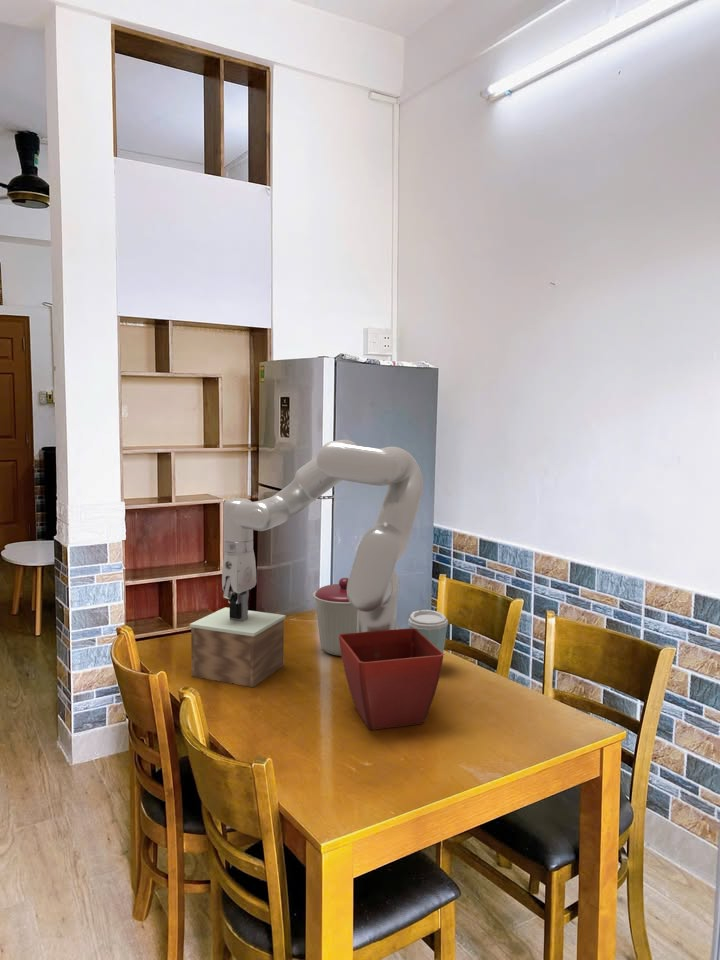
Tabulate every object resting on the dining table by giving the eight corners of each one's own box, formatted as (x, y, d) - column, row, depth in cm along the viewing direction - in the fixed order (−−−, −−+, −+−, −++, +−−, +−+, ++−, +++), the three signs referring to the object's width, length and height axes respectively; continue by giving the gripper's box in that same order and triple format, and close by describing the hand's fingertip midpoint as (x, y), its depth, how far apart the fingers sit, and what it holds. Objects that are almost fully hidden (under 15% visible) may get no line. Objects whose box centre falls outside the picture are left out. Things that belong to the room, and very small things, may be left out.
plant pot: (358, 739, 152) (359, 661, 150) (336, 703, 170) (337, 633, 168) (443, 729, 157) (445, 654, 155) (413, 695, 175) (415, 627, 173)
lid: (285, 618, 192) (285, 589, 191) (253, 636, 177) (253, 605, 176) (225, 610, 199) (225, 582, 198) (189, 627, 183) (189, 597, 183)
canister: (379, 642, 214) (380, 572, 211) (371, 663, 196) (372, 587, 194) (319, 638, 216) (320, 569, 214) (306, 659, 198) (306, 584, 196)
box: (283, 665, 193) (283, 618, 192) (253, 687, 178) (253, 636, 177) (225, 656, 200) (225, 610, 198) (191, 676, 185) (191, 626, 184)
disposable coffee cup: (455, 673, 189) (456, 617, 188) (419, 679, 185) (420, 622, 183) (433, 660, 199) (435, 607, 197) (399, 666, 194) (400, 611, 193)
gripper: (234, 553, 177) (234, 627, 179) (266, 542, 192) (266, 610, 194) (208, 551, 179) (208, 623, 181) (242, 540, 194) (242, 607, 196)
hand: (238, 615), depth 187 cm, fingers closed on lid, 2 cm apart
